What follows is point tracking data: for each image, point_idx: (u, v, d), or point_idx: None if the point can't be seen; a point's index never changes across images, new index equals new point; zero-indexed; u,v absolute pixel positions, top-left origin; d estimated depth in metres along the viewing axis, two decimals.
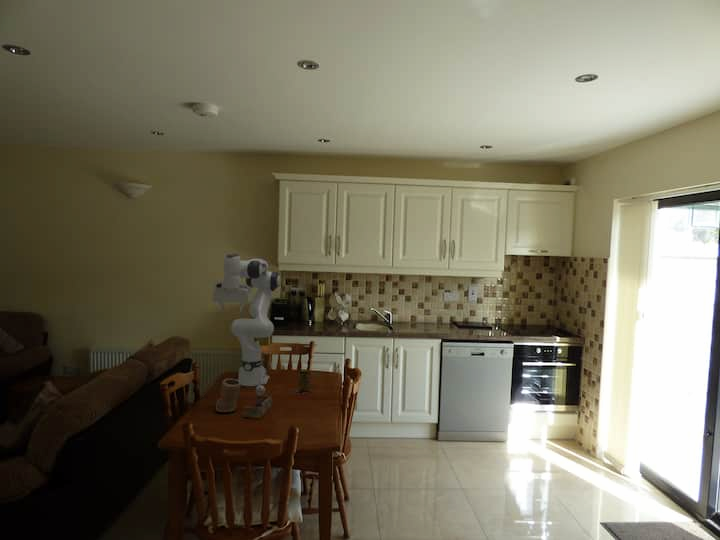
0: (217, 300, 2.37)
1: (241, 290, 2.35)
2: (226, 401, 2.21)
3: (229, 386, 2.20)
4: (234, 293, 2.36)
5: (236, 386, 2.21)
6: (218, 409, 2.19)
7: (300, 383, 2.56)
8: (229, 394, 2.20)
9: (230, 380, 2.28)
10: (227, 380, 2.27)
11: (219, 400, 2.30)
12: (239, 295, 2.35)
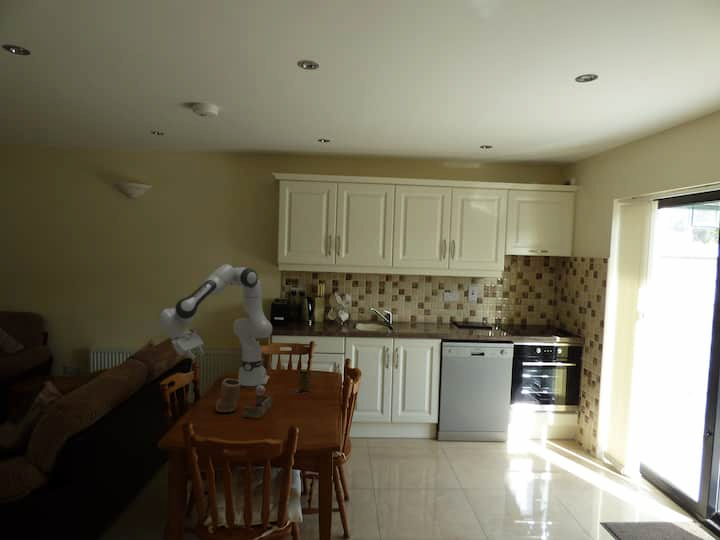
0: None
1: None
2: (226, 401, 2.21)
3: (229, 386, 2.20)
4: None
5: (236, 386, 2.21)
6: (218, 409, 2.19)
7: (300, 383, 2.56)
8: (229, 394, 2.20)
9: (230, 380, 2.28)
10: (227, 380, 2.27)
11: (219, 400, 2.30)
12: None
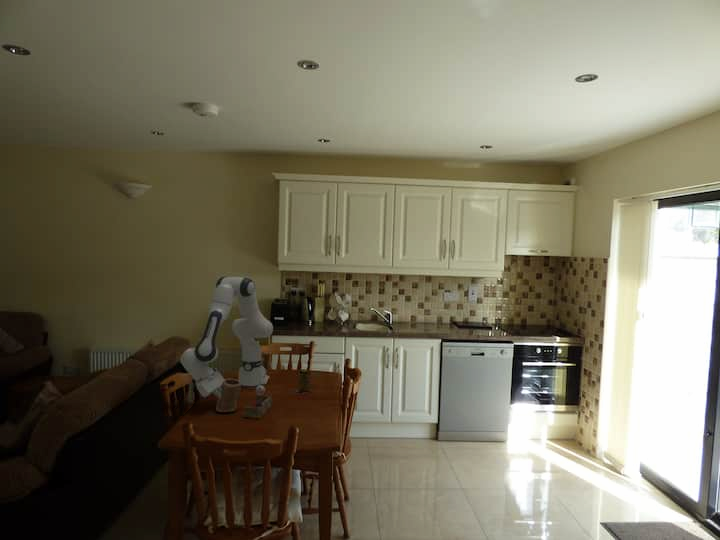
0: None
1: None
2: (226, 401, 2.21)
3: (229, 386, 2.20)
4: None
5: (236, 386, 2.21)
6: (218, 409, 2.19)
7: (300, 383, 2.56)
8: (229, 394, 2.20)
9: (230, 380, 2.28)
10: (227, 380, 2.26)
11: (219, 400, 2.30)
12: None
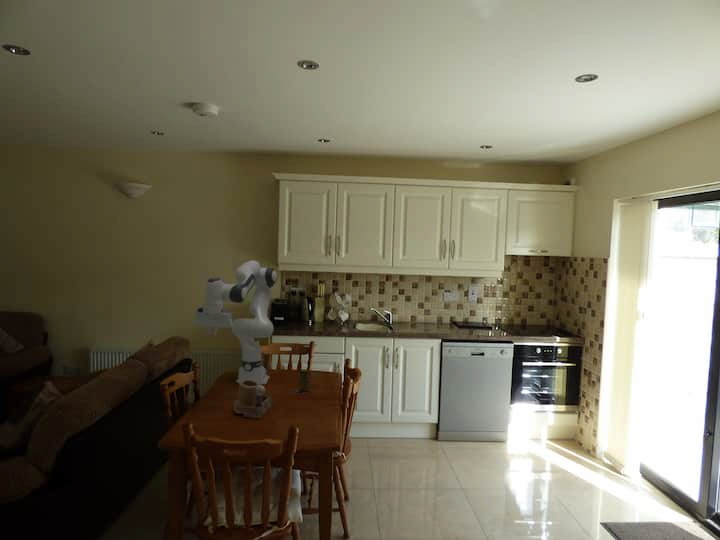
0: (198, 324, 2.35)
1: (223, 315, 2.33)
2: (244, 403, 2.20)
3: (248, 387, 2.19)
4: (216, 318, 2.33)
5: (254, 387, 2.20)
6: (237, 411, 2.18)
7: (300, 383, 2.56)
8: (247, 395, 2.19)
9: (248, 381, 2.26)
10: (245, 381, 2.25)
11: (236, 401, 2.29)
12: (221, 320, 2.33)
